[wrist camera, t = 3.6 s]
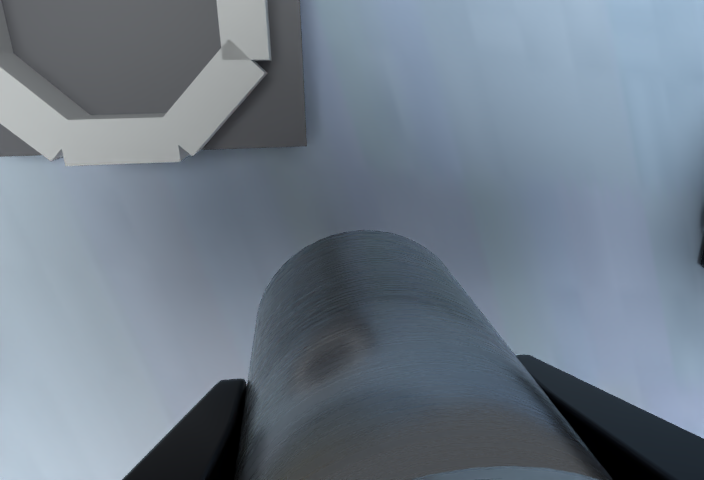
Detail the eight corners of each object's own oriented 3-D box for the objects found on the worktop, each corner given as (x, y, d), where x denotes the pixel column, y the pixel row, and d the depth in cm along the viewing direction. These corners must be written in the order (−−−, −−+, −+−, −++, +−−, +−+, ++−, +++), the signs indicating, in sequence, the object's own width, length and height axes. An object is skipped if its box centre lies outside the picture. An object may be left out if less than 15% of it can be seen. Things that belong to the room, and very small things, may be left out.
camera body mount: (291, -135, 15) (290, -207, 11) (304, 139, 17) (308, 157, 14) (-65, -144, 14) (-202, -227, 10) (9, 148, 16) (-76, 171, 13)
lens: (476, 217, 10) (1123, 725, 2) (461, 410, 11) (807, 1095, 4) (238, 229, 9) (-11, 946, 2) (258, 429, 11) (178, 1267, 3)
